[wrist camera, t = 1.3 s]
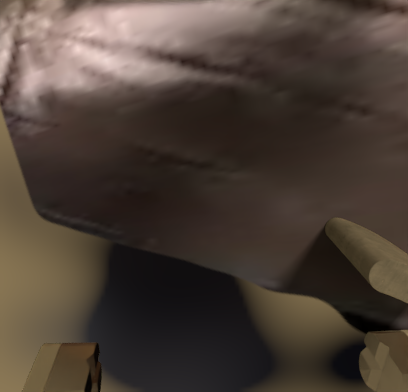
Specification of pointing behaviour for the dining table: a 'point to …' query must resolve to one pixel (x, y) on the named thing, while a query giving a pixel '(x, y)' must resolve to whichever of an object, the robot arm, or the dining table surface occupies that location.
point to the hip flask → (372, 257)
